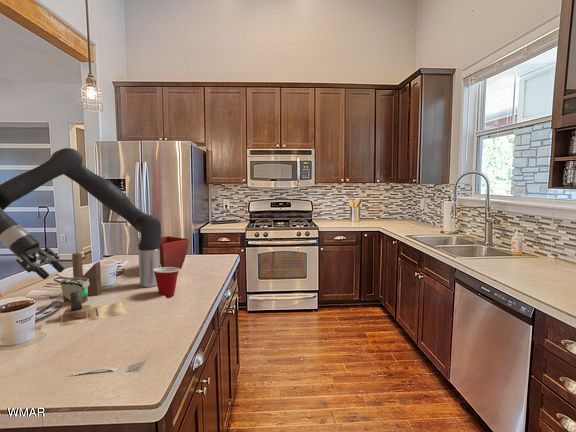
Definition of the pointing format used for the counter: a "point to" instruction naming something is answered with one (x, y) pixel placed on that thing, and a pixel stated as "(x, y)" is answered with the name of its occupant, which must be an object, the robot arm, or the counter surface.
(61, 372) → the counter surface
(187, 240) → the plant pot
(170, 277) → the plastic cup
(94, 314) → the oak board
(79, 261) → the wooden block
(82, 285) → the food container
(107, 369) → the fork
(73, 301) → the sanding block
